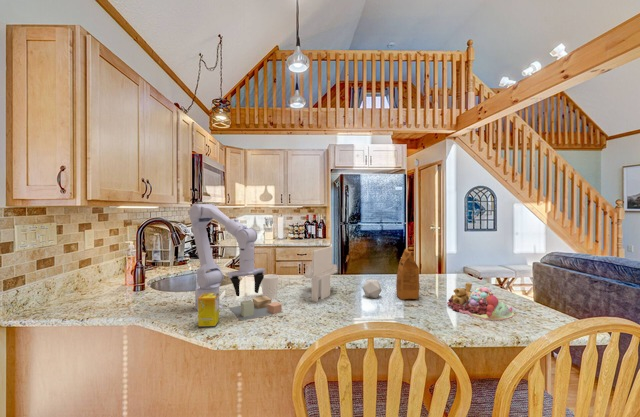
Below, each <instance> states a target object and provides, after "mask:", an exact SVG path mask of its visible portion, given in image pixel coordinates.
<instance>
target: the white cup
mask: <svg viewBox="0 0 640 417" xmlns="http://www.w3.org/2000/svg"><path fill="white" fill-rule="evenodd" d="M263 275H264V278H263V280H262V282H261V293H262V296H267V297H268V298H270V299H271V300H274V299H276V298H278V290H279V275H278V274H275V273H274V274H263Z"/></svg>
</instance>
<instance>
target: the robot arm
mask: <svg viewBox="0 0 640 417" xmlns="http://www.w3.org/2000/svg"><path fill="white" fill-rule="evenodd" d="M188 215H189V219H190V223H191V231H192V234H193V238H194V243H195V248H196V252H197V256H198V261H199V264H200V266H199V267H198V269H197V270H196V283H197V285H198V287H199V288H195V293H194V295H195V296H194V300H195V301H194V302H195V305H194V308H195V309H196V310H197V312H198V298H199V297H200V296H201V295H202V294H203V293H219V294H220V286H221V283H222V282H223V280H224V273H223V271H222V270H221V268H220V265H219V264H218V263H216V262H215V261H214V257H213V252H212V249H211V244H210V239H209V237H208V231H207V226H208V224H209V223H210V222H211V221H213V220H215V221H216V222H218V223H219V224H221V225H223V227H224V228H225V231H227V233H229V234H230V235H231V236H233V237H235V240H236V242H237V245H238V249H239V250H238V251H239V253H238V255H239V256H238V257H239V259H238V260H239V269H238V270H235V271H230V272H227V278H228V279H230V281H231V283H232V285H233V288H234V291H235V296H236V297H240V284H241V279H240V278H241V277H247V276H253V281H254V292H255V293H256V294H259V290H260V286H261V285H262V280H263V278H264V275H266V268H264V267H263V268H255V242H256V241H257V239H258V233H257V231H256V229H254V227H248V226H247V225H245V224H243V223H241V221H240V219H238V218H230V217H228V216H227V215H226V214H225V213H224V212H222V211H221V210H220V209H219V206H217V205H215V204H214V203H193V204H192V205H191V206H190V209H189V211H188ZM239 277H240V278H239ZM221 309H223V306H222V305H221V304H220V303H219V310H221Z"/></svg>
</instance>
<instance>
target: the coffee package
mask: <svg viewBox="0 0 640 417" xmlns="http://www.w3.org/2000/svg"><path fill="white" fill-rule="evenodd" d="M413 256H414V252H411V251H410V250H408V249H407V248H404V250H403V253H402V255H401V258H400V260H399V262H398V263H399V264H398V268H397V272H396V284H395V285H396V287H395V288H396V295H397V297H398V298H399V299H400V300H403V301H404V300H416V299H419V297H420V296H419V295H420V294H419V293H420V289H421V288H420V287H421V285H420V268H419V266H418V264H417V262H416V261H415V260H414V257H413Z"/></svg>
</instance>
